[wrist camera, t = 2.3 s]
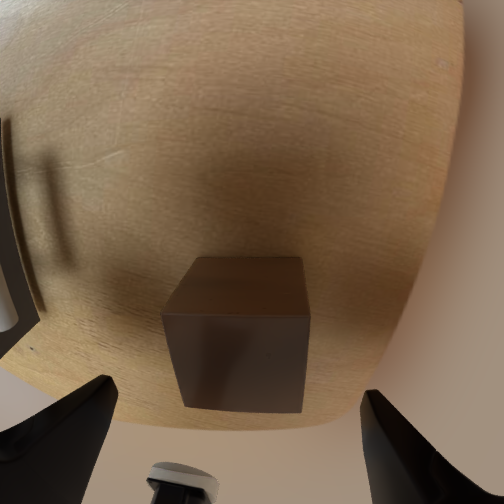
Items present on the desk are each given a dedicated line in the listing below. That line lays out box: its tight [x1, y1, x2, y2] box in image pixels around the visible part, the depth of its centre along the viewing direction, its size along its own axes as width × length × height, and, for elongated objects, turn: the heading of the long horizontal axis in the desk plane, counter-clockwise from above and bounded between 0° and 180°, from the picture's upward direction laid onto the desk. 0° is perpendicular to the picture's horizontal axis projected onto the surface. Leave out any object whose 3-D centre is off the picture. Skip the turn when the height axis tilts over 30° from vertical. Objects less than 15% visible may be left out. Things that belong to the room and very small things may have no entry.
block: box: [160, 257, 311, 413], centre depth 13 cm, size 5×5×5 cm
